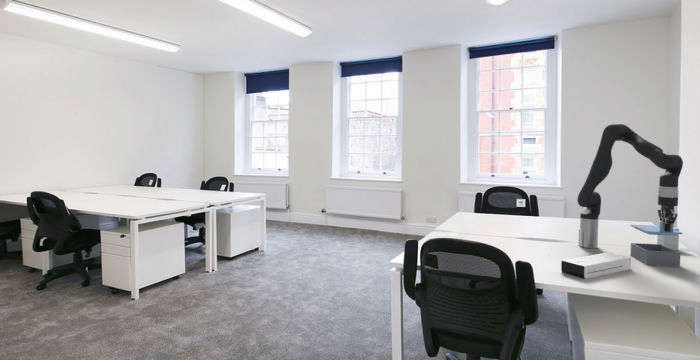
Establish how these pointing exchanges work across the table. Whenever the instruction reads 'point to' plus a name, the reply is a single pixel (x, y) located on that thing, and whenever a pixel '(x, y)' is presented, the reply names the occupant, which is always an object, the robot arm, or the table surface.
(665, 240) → the supplement box
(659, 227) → the tub lid
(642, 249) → the parts tub
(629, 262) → the laminator
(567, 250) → the table surface
